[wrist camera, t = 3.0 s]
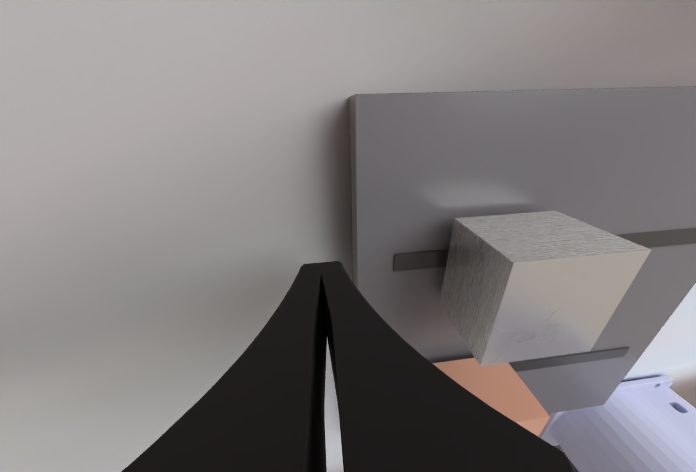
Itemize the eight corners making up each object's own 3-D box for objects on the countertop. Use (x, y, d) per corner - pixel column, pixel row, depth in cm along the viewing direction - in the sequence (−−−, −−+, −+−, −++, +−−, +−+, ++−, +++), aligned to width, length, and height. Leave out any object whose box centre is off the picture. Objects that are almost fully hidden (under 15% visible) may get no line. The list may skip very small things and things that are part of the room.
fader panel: (777, 86, 10) (850, 82, 9) (583, 384, 19) (605, 406, 18) (349, 97, 9) (355, 94, 7) (356, 418, 18) (359, 445, 16)
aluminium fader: (555, 210, 9) (651, 250, 7) (524, 294, 11) (590, 350, 8) (454, 218, 9) (513, 262, 6) (439, 303, 11) (480, 365, 8)
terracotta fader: (501, 353, 13) (550, 416, 10) (484, 399, 15) (522, 462, 12) (428, 363, 13) (458, 431, 10) (420, 409, 14) (444, 477, 12)
